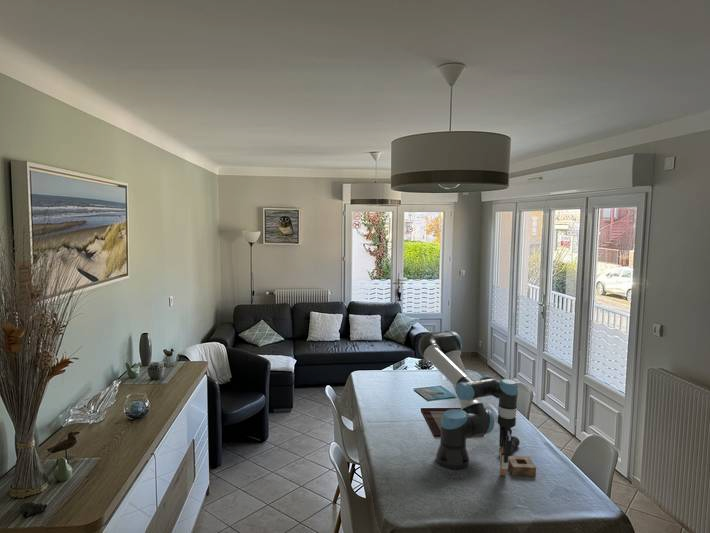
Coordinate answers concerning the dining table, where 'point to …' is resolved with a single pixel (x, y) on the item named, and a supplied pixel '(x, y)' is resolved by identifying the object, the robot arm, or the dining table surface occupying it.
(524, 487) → the dining table surface
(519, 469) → the socket block
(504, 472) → the peg
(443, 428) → the robot arm
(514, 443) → the flashlight
